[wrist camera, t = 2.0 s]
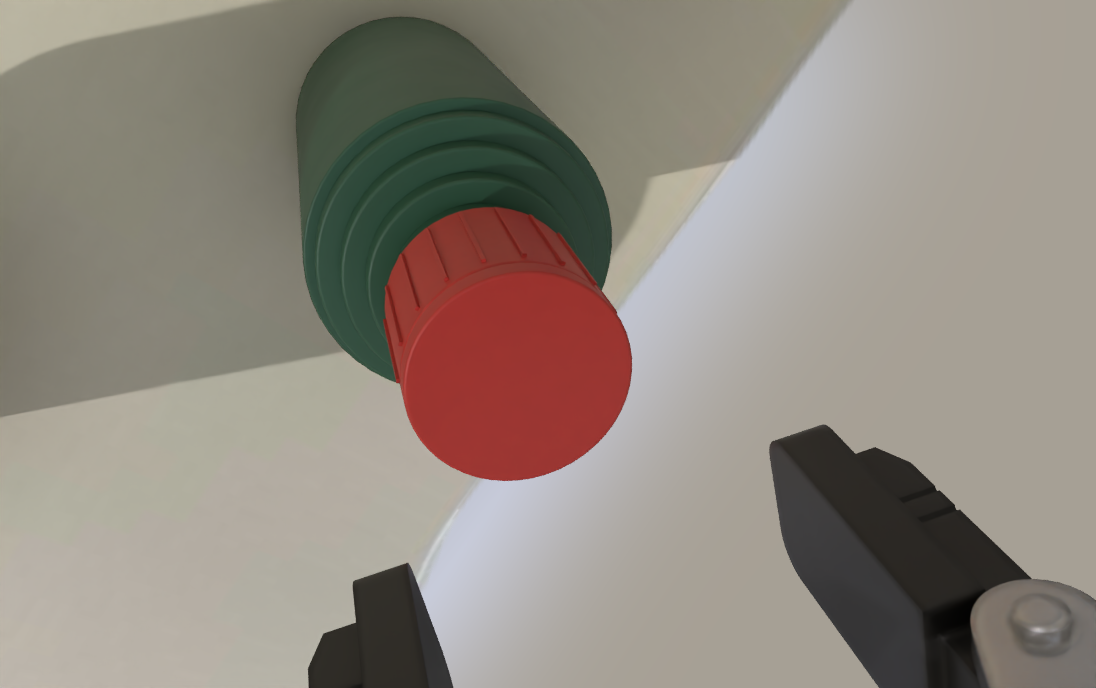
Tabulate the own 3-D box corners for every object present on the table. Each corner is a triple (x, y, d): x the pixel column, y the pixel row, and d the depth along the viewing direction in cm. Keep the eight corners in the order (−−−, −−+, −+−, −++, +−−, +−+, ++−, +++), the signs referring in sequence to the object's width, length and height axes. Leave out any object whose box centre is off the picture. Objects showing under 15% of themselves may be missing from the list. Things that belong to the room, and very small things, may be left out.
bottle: (320, -10, 33) (359, 125, 16) (532, 48, 35) (758, 221, 18) (277, 202, 35) (272, 510, 19) (477, 244, 38) (633, 552, 21)
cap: (407, 183, 20) (433, 247, 17) (608, 228, 21) (667, 295, 18) (360, 374, 21) (375, 467, 18) (551, 405, 23) (595, 496, 19)
